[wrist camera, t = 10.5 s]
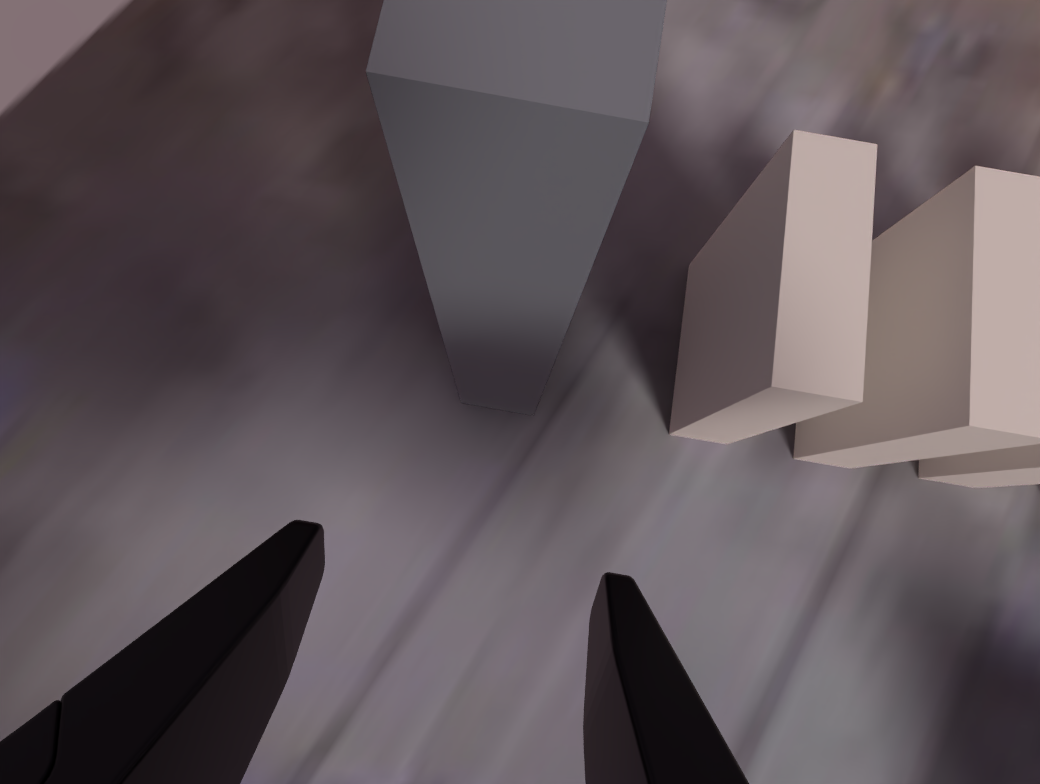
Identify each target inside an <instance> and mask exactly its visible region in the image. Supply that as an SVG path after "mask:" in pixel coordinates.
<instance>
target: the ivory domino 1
mask: <svg viewBox="0 0 1040 784" xmlns="http://www.w3.org/2000/svg"><path fill="white" fill-rule="evenodd" d="M876 160H877V144H873V143H867V142H861V141H856V140H850V139H844V138H838V137H833V136H827V135H821V134H815V133H810V132H804V131H798V130H793V131H792V133H791V134H790V135H789V137H788V138H787V139H786V140H785V142H784V143H783V144H782V146H781V147H780V148H779V150H778V151H777V152H776V153H775V155H774V156H773V157H772V159H771V160H770V161H769V162H768V164H767V165H766V166H765V168H764V169H763V170H762V171H761V173H760V174H759V175H758V177H757V178H756V179H755V180H754V182H753V183H752V184H751V186H750V187H749V188H748V190H747V191H746V192H745V193H744V195H743V196H742V197H741V199H740V200H739V201H738V202H737V204H736V205H735V206H734V208H733V209H732V210H731V211H730V213H729V214H728V215H727V217H726V218H725V219H724V220H723V222H722V223H721V224H720V226H719V227H718V228H717V230H716V231H715V232H714V233H713V235H712V236H711V237H710V239H709V240H708V241H707V242H706V244H705V245H704V246H703V248H702V249H701V250H700V251H699V253H698V254H697V255H696V257H695V258H694V259H693V260H692V262H691V263H690V264H689V269H688V277H687V286H686V294H685V302H684V311H683V319H682V328H681V336H680V345H679V353H678V362H677V370H676V378H675V387H674V395H673V404H672V412H671V421H670V429H669V435H675V436H681V437H687V438H693V439H699V440H705V441H711V442H716V443H722V444H729V443H732V442H735V441H738V440H742V439H745V438H748V437H751V436H754V435H758V434H761V433H764V432H767V431H771V430H774V429H777V428H780V427H784V426H787V425H790V424H793V423H797V422H800V421H803V420H806V419H809V418H813V417H816V416H819V415H822V414H826V413H829V412H832V411H835V410H839V409H842V408H845V407H848V406H852V405H855V404H858V403H861V402H863V388H864V370H865V353H866V335H867V318H868V300H869V283H870V265H871V248H872V230H873V213H874V195H875V178H876Z"/></svg>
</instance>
